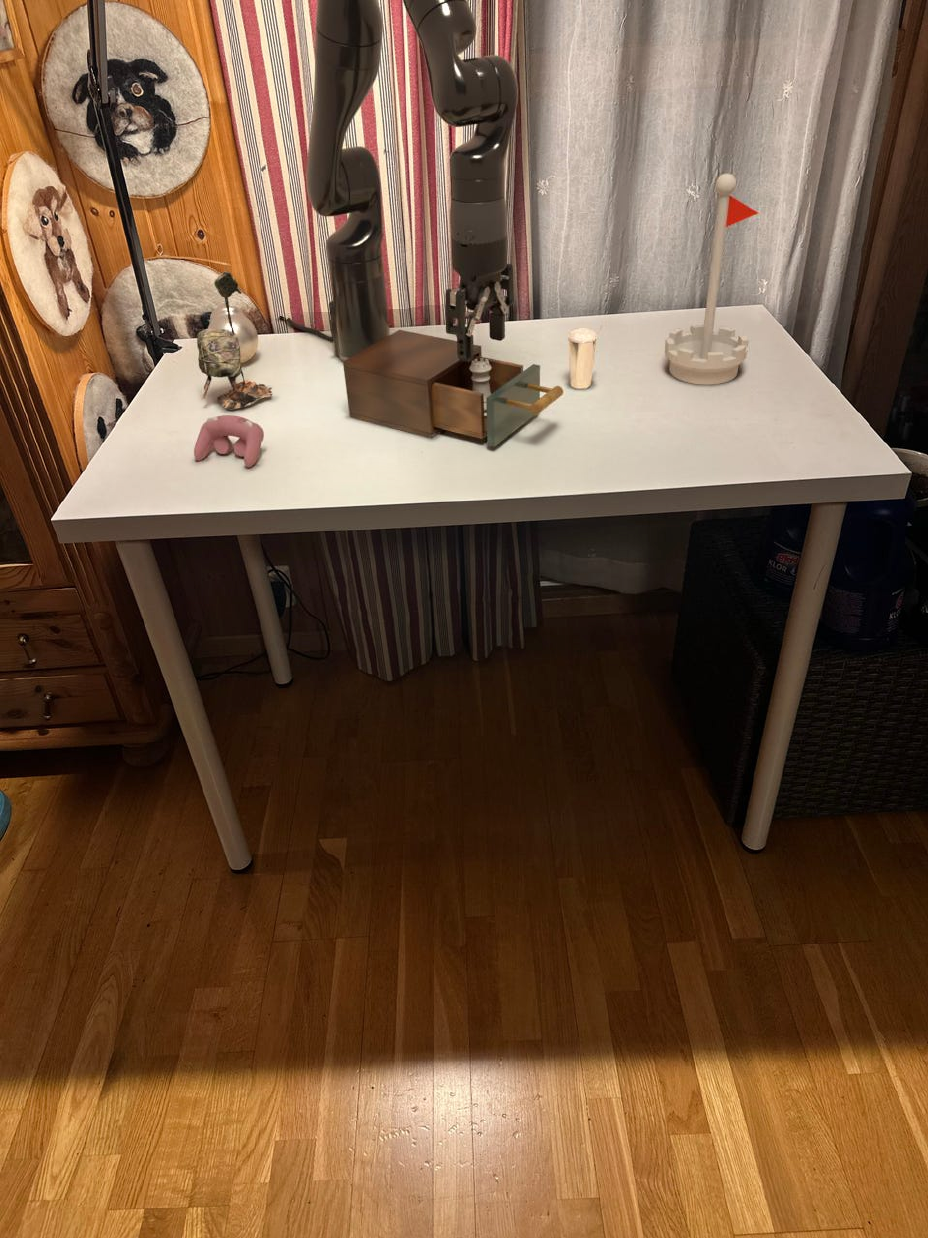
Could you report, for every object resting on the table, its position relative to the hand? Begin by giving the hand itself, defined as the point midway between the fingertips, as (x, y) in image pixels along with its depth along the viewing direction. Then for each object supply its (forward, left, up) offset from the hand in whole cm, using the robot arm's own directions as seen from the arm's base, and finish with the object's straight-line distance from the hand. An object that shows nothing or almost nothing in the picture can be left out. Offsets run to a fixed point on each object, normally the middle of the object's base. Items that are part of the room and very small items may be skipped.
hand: (481, 349), depth 133 cm
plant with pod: (-40, -11, -12) cm, 44 cm away
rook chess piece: (0, 0, -10) cm, 10 cm away
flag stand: (+22, +34, -12) cm, 42 cm away
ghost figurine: (-52, +1, -12) cm, 54 cm away
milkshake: (+7, +20, -12) cm, 24 cm away
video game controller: (-27, -26, -12) cm, 40 cm away
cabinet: (-12, 0, -12) cm, 17 cm away
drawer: (+1, 0, -11) cm, 11 cm away
